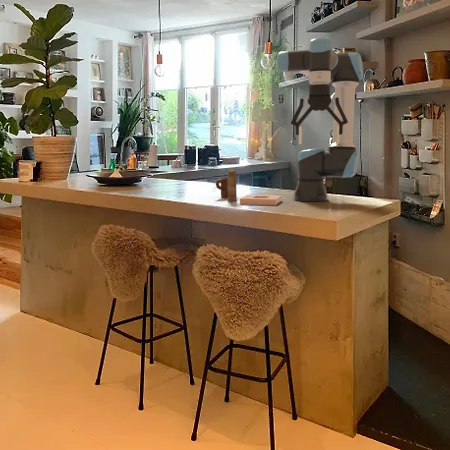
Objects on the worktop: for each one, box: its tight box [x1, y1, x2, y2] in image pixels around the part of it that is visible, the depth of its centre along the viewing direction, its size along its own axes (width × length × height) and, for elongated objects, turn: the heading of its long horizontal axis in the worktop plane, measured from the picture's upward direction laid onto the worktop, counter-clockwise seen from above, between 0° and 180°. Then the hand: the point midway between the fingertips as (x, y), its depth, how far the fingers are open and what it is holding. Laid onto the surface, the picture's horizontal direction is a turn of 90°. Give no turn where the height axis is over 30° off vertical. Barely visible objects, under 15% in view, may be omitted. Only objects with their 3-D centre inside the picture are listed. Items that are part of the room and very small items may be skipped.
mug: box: [215, 176, 228, 199], centre depth 254 cm, size 12×8×9 cm, turn 135°
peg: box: [226, 169, 238, 203], centre depth 240 cm, size 4×4×14 cm
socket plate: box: [239, 194, 283, 206], centre depth 235 cm, size 14×16×2 cm
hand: (318, 144), depth 193 cm, fingers open, 13 cm apart
